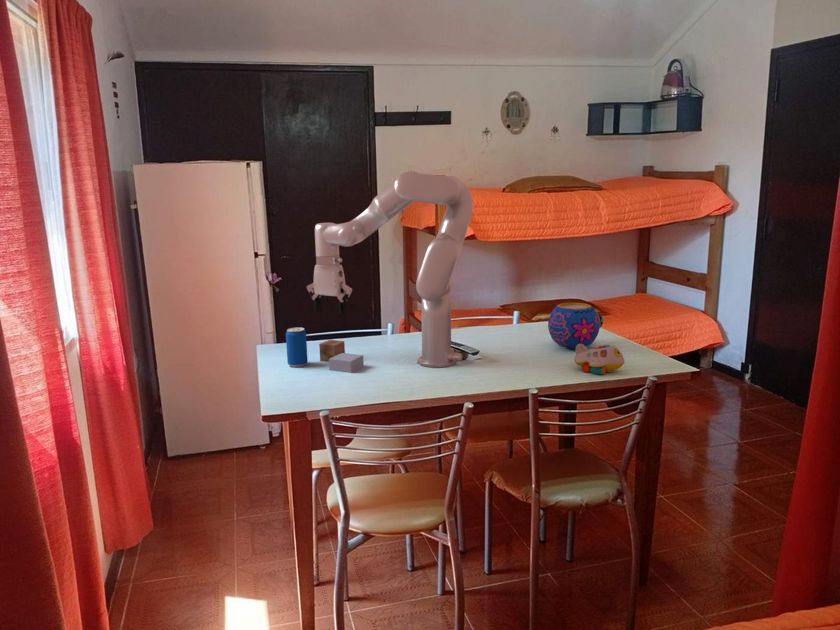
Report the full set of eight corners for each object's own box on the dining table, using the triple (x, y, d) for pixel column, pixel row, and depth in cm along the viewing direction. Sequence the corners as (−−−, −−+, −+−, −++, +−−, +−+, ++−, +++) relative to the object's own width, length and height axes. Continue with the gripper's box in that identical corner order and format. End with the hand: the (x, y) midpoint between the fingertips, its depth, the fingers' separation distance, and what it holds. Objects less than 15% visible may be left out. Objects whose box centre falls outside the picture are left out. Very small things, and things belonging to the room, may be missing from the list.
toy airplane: (576, 338, 214) (625, 338, 208) (577, 365, 215) (626, 365, 210) (570, 349, 202) (622, 349, 196) (571, 377, 203) (623, 378, 198)
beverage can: (310, 362, 222) (308, 327, 220) (304, 367, 216) (302, 331, 214) (291, 362, 223) (288, 327, 221) (285, 367, 217) (283, 331, 214)
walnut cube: (345, 358, 227) (344, 341, 225) (335, 363, 221) (334, 345, 220) (330, 356, 229) (329, 339, 228) (320, 361, 224) (319, 343, 223)
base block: (363, 367, 217) (363, 355, 216) (351, 373, 210) (350, 361, 209) (342, 364, 220) (342, 352, 219) (329, 371, 213) (328, 359, 212)
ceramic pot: (610, 348, 233) (611, 305, 230) (574, 356, 223) (575, 312, 220) (572, 338, 247) (573, 298, 244) (537, 346, 237) (537, 304, 234)
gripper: (356, 260, 218) (358, 312, 222) (312, 258, 226) (315, 308, 229) (343, 263, 212) (346, 316, 215) (299, 261, 219) (302, 312, 223)
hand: (330, 312), depth 222 cm, fingers open, 9 cm apart
